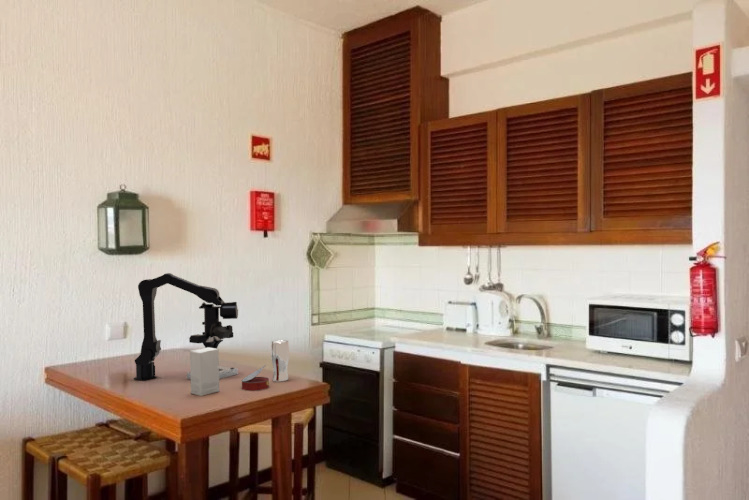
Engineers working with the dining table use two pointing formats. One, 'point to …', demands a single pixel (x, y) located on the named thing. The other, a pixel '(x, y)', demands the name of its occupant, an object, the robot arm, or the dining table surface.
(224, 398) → the dining table surface
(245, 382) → the canned food
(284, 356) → the white tall container
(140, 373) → the robot arm
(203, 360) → the skincare box
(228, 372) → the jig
